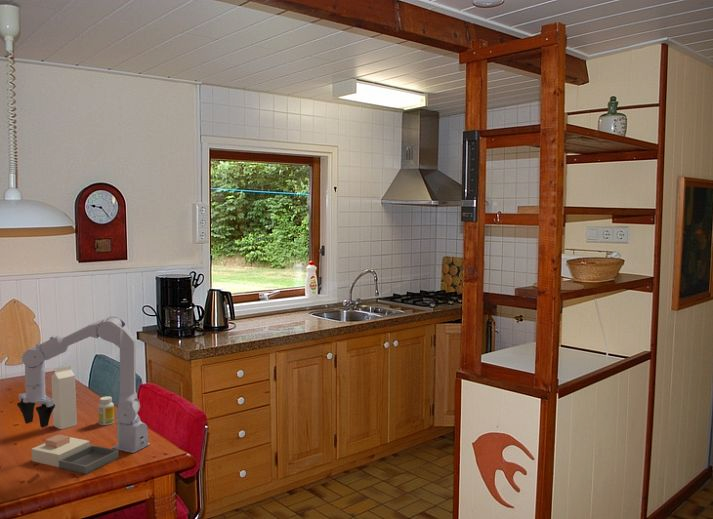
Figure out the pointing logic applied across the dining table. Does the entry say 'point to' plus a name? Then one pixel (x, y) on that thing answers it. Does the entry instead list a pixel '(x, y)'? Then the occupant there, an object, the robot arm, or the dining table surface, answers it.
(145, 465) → the dining table surface
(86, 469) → the tray
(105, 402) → the supplement bottle
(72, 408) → the milk
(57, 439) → the block
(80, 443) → the cream square platform
